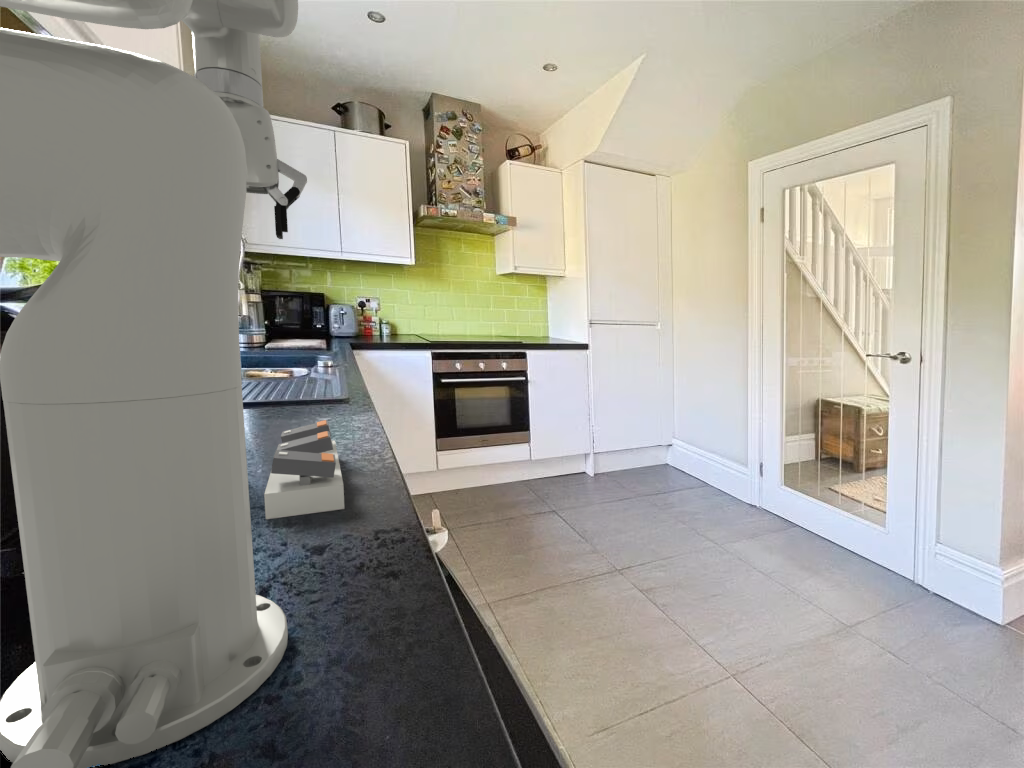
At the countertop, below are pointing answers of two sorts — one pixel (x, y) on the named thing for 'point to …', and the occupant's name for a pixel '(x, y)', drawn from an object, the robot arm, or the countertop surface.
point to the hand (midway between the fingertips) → (239, 235)
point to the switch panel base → (304, 493)
